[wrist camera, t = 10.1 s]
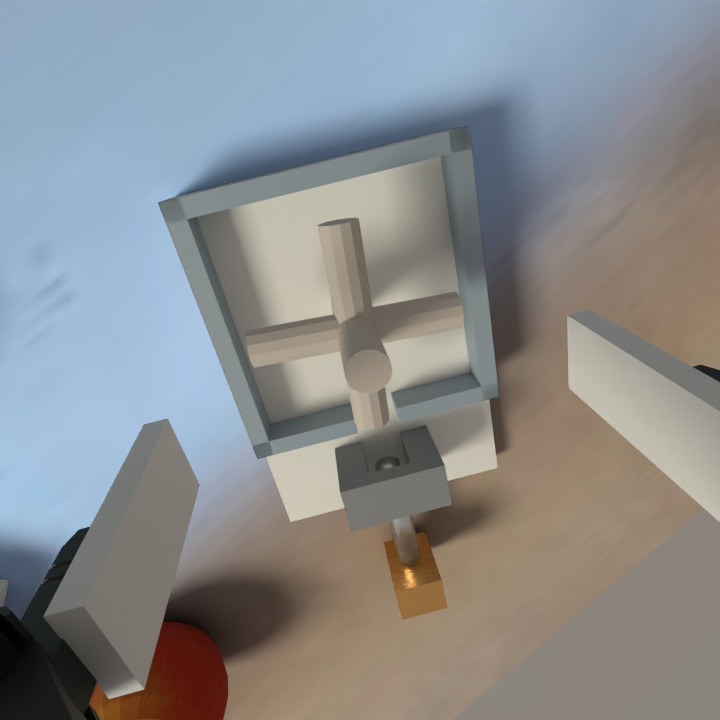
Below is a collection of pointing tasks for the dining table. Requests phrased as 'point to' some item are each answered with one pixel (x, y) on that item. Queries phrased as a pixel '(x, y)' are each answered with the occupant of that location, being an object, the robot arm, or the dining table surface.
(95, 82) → the dining table surface
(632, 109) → the dining table surface
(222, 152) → the dining table surface
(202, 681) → the fruit
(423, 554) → the lock pin
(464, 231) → the dock
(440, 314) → the pipe connector
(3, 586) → the small box
